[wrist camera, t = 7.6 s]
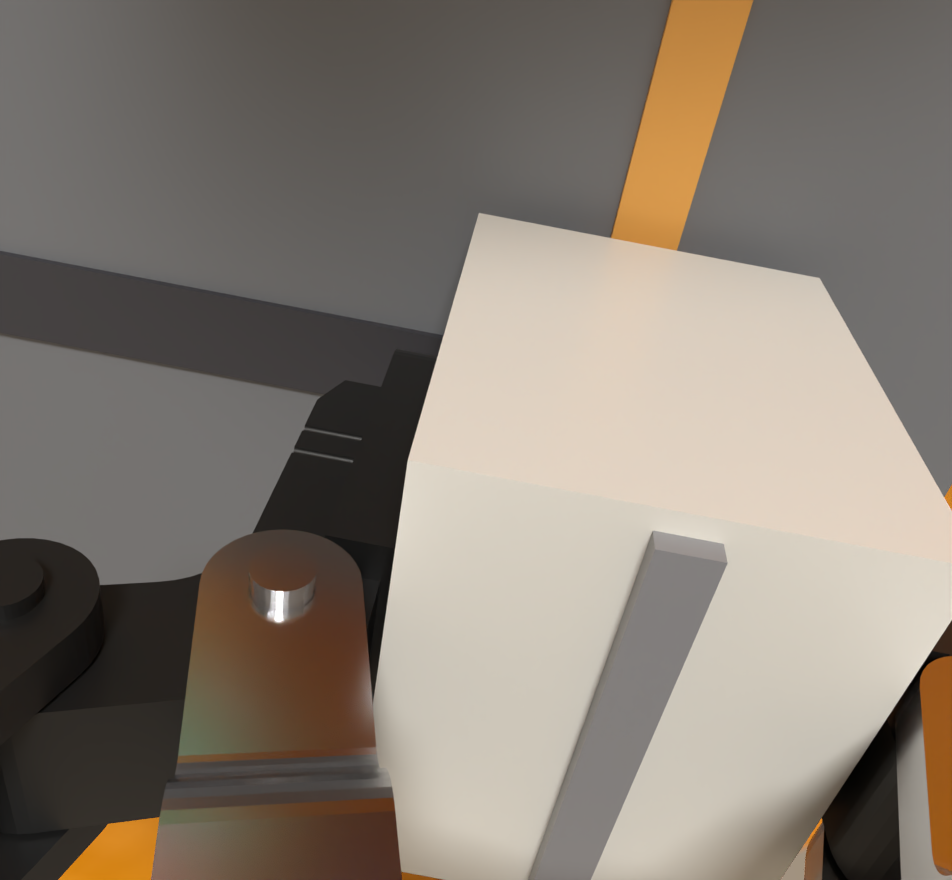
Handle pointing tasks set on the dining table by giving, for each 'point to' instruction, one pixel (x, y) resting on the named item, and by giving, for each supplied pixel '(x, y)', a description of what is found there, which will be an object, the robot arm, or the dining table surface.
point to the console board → (412, 213)
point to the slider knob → (645, 568)
